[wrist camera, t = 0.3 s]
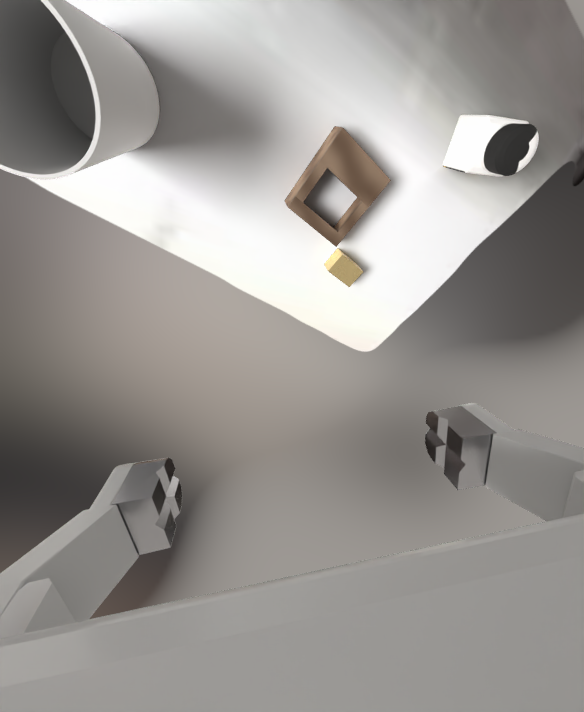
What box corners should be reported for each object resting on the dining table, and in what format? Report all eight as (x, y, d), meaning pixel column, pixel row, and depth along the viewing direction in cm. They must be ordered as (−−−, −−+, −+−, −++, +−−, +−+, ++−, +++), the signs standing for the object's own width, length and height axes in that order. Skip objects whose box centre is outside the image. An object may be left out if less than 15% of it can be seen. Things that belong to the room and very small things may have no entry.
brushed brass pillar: (337, 247, 59) (342, 254, 56) (357, 264, 62) (363, 271, 59) (323, 263, 61) (328, 271, 58) (344, 279, 64) (349, 287, 61)
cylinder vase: (33, 34, 37) (-187, -48, 17) (136, 18, 37) (30, -79, 18) (90, 156, 45) (-18, 190, 26) (174, 142, 45) (129, 165, 26)
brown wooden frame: (334, 126, 47) (343, 127, 43) (380, 175, 52) (390, 180, 48) (284, 200, 52) (288, 207, 49) (330, 238, 58) (336, 246, 54)
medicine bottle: (441, 166, 52) (484, 178, 43) (459, 114, 48) (512, 115, 39) (476, 170, 54) (526, 183, 45) (498, 120, 49) (558, 122, 40)
